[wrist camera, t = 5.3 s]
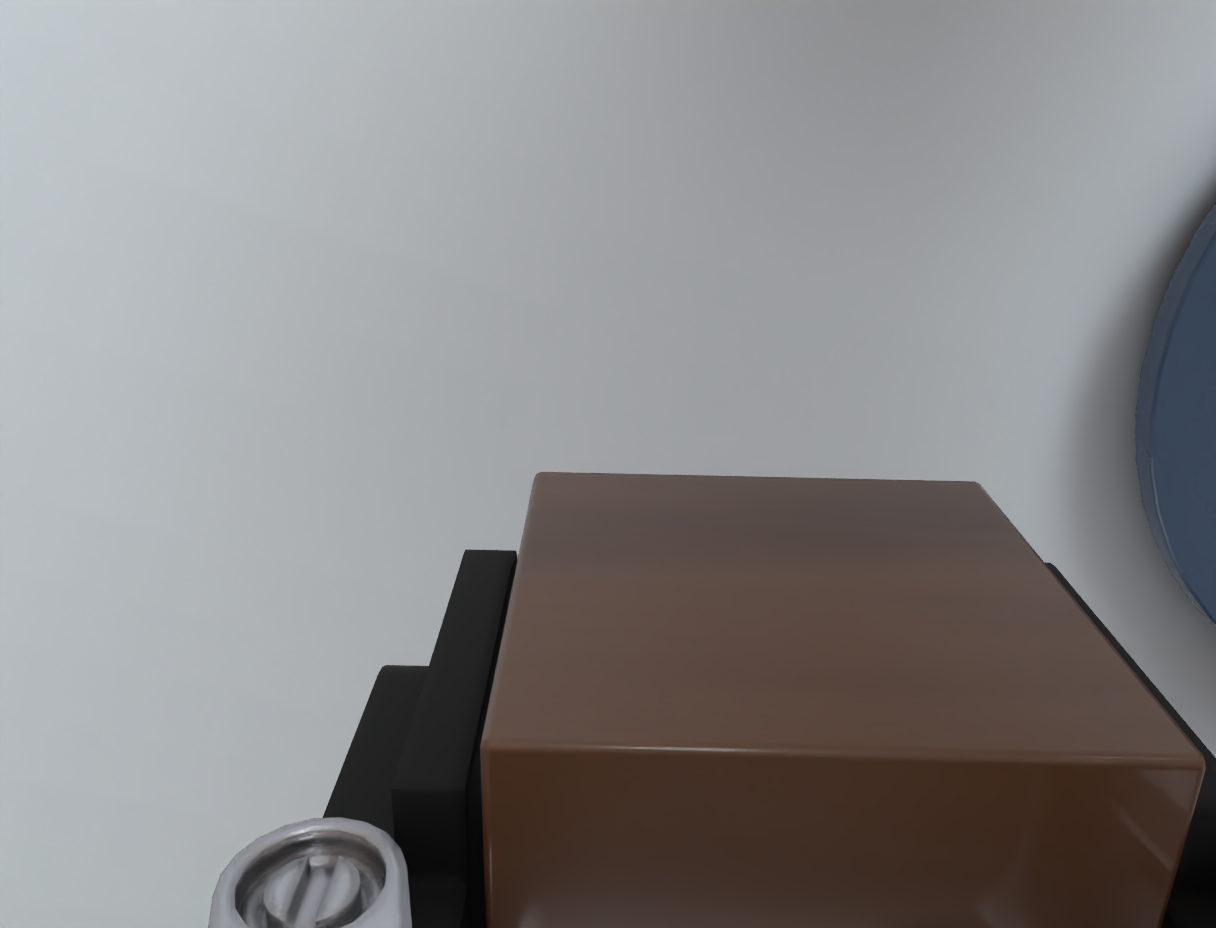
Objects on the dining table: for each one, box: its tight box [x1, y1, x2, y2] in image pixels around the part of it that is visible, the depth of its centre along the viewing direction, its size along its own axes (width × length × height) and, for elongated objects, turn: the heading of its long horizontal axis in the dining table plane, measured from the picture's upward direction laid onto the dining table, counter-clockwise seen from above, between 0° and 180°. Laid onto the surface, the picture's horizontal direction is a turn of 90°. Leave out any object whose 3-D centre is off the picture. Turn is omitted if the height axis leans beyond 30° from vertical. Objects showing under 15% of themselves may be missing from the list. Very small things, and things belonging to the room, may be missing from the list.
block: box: [480, 472, 1206, 928], centre depth 10 cm, size 5×5×5 cm
